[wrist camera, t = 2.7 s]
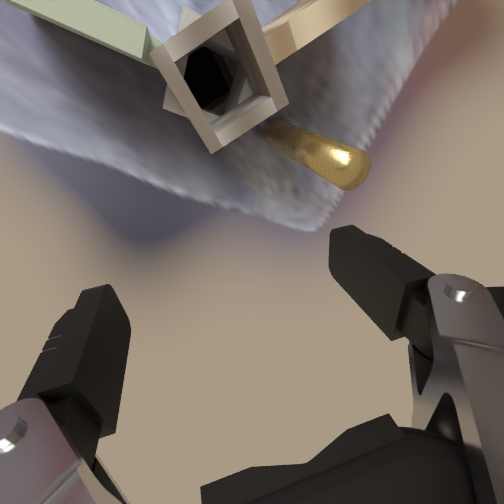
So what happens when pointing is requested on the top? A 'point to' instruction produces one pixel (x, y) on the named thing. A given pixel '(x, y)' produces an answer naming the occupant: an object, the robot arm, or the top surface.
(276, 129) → the brass pin
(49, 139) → the top surface
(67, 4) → the swinging leaf
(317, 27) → the fixed leaf
